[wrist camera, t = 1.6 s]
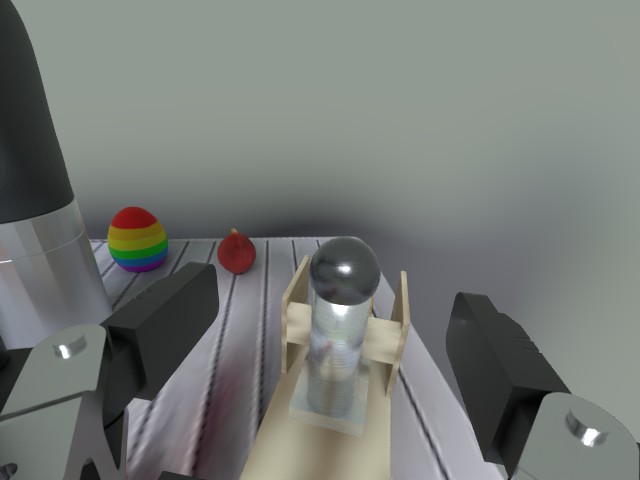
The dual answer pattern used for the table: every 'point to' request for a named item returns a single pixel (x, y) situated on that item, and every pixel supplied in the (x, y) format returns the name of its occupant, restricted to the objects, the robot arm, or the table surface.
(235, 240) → the onion
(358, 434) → the shaft
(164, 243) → the decorative egg
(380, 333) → the frame
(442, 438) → the table surface
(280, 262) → the table surface
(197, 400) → the table surface
